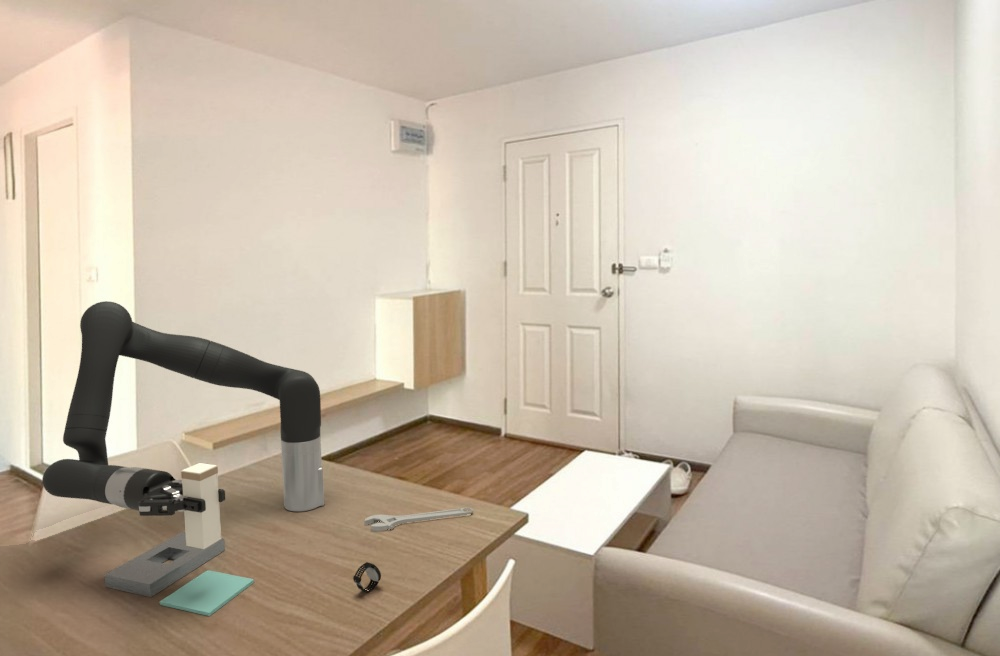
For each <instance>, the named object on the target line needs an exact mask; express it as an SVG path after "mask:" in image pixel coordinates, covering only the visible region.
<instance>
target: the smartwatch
mask: <svg viewBox="0 0 1000 656" xmlns="http://www.w3.org/2000/svg"><path fill="white" fill-rule="evenodd" d="M364 572H365V573H366V575H367V577H368V578H369V583H368V585H367V586H366V587H365V588H364V585H363V583H362V577H363V574H364ZM352 579H353V582H354V583H355V584H356V586H357V588H358V590H360V591H362V592H364V593H368V594H369V593H371V592H372V591H373V590H374V589H375V588H376V587H377V586H378V585H379V581H381V580H382V573H381V571H380V569H379V568H378V566H377V565H376V564H374V563H370V562H367V561H366V562H365V563H363V564H361V565H360V566H359V567H358V568H357V570H356V572H355V574H354V575H353V578H352ZM366 588H368V590H369V589H370V590H369V591H367V590H365V589H366ZM371 588H372V589H371ZM371 590H372V591H371ZM370 591H371V592H370Z"/></svg>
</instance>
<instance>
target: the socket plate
mask: <svg viewBox="0 0 1000 656" xmlns="http://www.w3.org/2000/svg"><path fill="white" fill-rule="evenodd" d="M225 540H226V539H225V538H222V537H221V539H220V540H219V541H217V542H215V543H214V544H212V545H210V546H209V547H207V548H205V549H201V548H196V547H191V546H186V533H185V530H184V531H181V532H179V533H178V534H175V535H174V536H172V537H171V538H169V539H167V540H165V541H162V542H161V543H160V544H157V545H156V546H154V547H152V548H150V549H149V550H147V551H144V552H142V553H141V554H139V555H138V556H136V557H133V558H132V559H130V560H128V561H127V562H125V563H123V564H120V565H119V566H117V567H115V568H114V569H112V570H110V571H108V572H107V573H105V574H104V583H105V588H109V589H112V590H116V591H117V590H118V591H122V592H126V593H130V594H134V595H135V594H136V595H138V596H144V597H147V598H152V597H154V596H156V595H157V594H159V593H160V592H162V591H163V590H165V589H167V588H168V587H169V586H171V585H173V584H174V583H176V582H178V581H179V580H181V579H182V578H183V577H185V576H187V575H189V574H190V573H192V572H193V571H194V570H196V569H198V568H199V567H201V566H202V565H204V564H205V563H207V562H209V561H210V560H212V559H213V558H215V557H217V556H218V555H220V554H221V553H222V552H225V551H226V545H225V544H226V543H225V542H226V541H225ZM169 560H173V561H171V562H168V563H167V564H166V561H169ZM164 562H165V563H164Z"/></svg>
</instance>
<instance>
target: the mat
mask: <svg viewBox="0 0 1000 656" xmlns="http://www.w3.org/2000/svg"><path fill="white" fill-rule="evenodd" d="M254 583H255V579H254V578H250V577H244V576H239V575H234V574H228V573H224V572H220V571H214V570H210V569H207V570H205V571H204V572H203V573H201V574H199V575H198V576H196V577H194V578H193V579H191V580H190V581H188V582H187V583H186V584H184V585H183V586H181V587H180V588H178V589H176V590H175V591H173V592H172V593H171V594H169V595H167V596H166V597H164V598H163V599H161V600H159V606H164V607H167V608H172V609H177V610H182V611H186V612H190V613H194V614H199V615H203V616H206V617H207V616H208V617H211V616H212V615H213V614H214V613H215V612H217V611H218V610H220V609H221V608H222V607H224V605H227V603H229V602H230V601H232V599H234V598H235V597H237V596H238V595H239V594H241V593H242V592H244V591H245V590H246V589H248V588H249V587H250V586H252V584H254Z"/></svg>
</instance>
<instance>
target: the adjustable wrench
mask: <svg viewBox="0 0 1000 656" xmlns="http://www.w3.org/2000/svg"><path fill="white" fill-rule="evenodd" d="M467 510H468V511H470V512H464V511H467ZM473 510H474V509H473V508H471V507H461V508H453V509H446V510H438V511H437V510H436V511H428V512H421V513H412V514H406V515H390V514H373V515H370V516H368V517H366V518H365V519H364V526H365V525H366V526H369V525H370V531H371V532H383V531H382V530H386V529H389V530H390V529H391V530H394V529H395V527H394V526H395V525H398V524H401V523H407V522H415V521H422V520H430V519H436V518H443V517H449V516H460V515H467V514H471V513H472V512H473V513H474V511H473ZM378 521H379V522H378ZM380 521H381V522H380ZM374 522H375V523H374ZM377 522H378V523H377ZM371 523H373V524H371ZM368 524H369V525H368ZM393 528H394V529H393ZM389 530H388V531H389ZM391 530H390V531H391Z"/></svg>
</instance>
